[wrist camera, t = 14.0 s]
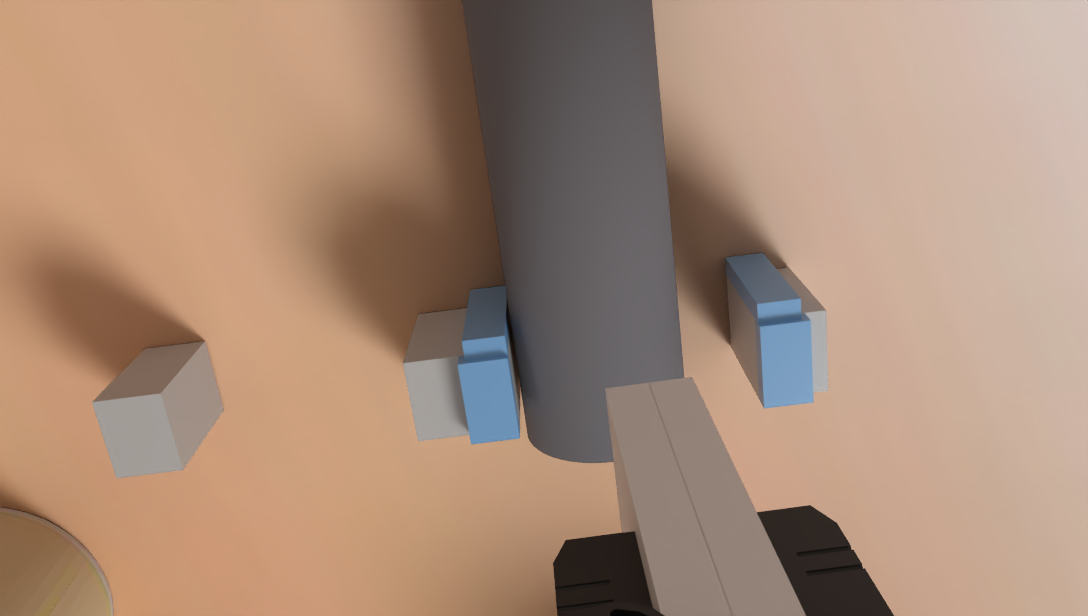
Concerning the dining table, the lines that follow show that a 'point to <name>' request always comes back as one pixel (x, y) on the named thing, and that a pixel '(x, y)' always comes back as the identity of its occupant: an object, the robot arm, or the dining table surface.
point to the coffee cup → (47, 571)
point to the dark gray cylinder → (578, 206)
